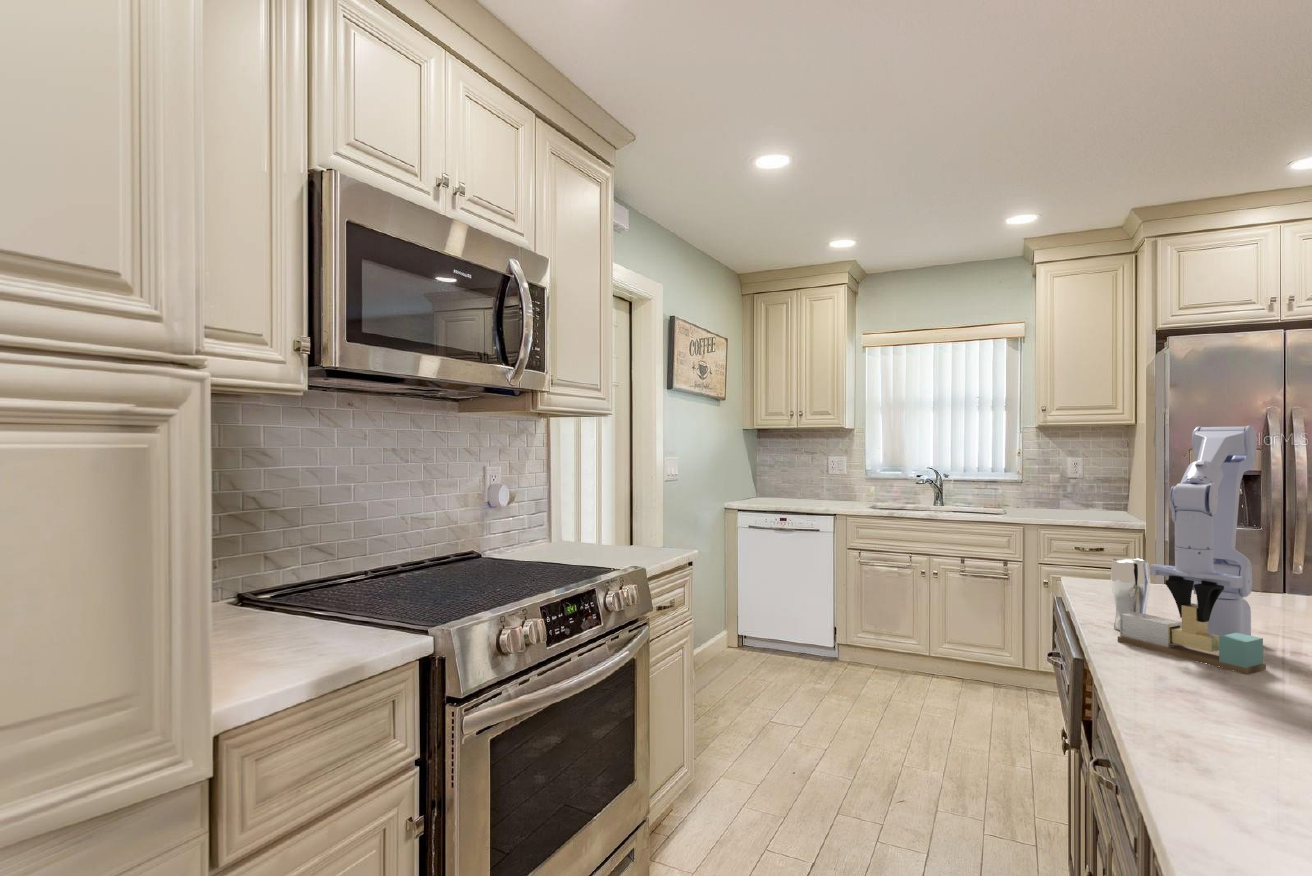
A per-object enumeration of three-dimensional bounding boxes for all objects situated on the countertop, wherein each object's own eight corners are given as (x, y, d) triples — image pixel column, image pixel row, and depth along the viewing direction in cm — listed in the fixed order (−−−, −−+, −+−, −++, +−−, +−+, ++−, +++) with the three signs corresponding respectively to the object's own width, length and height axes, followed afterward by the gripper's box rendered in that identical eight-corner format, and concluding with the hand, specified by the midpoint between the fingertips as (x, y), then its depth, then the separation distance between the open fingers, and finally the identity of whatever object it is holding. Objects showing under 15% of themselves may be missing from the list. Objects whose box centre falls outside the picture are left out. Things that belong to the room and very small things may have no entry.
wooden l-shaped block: (1145, 632, 139) (1145, 594, 139) (1221, 649, 127) (1220, 608, 127) (1134, 634, 138) (1134, 596, 138) (1210, 652, 126) (1210, 610, 126)
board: (1135, 637, 142) (1135, 632, 142) (1265, 669, 122) (1265, 663, 122) (1117, 641, 140) (1117, 636, 140) (1247, 674, 120) (1247, 668, 120)
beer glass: (1157, 635, 144) (1156, 563, 144) (1120, 633, 145) (1119, 562, 145) (1140, 626, 151) (1140, 558, 151) (1105, 625, 152) (1105, 557, 152)
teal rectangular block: (1236, 657, 126) (1236, 632, 126) (1263, 663, 122) (1262, 638, 122) (1219, 661, 124) (1218, 636, 124) (1245, 668, 120) (1245, 642, 120)
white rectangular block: (1133, 633, 142) (1133, 611, 142) (1181, 645, 134) (1181, 621, 134) (1120, 636, 140) (1119, 613, 140) (1168, 648, 132) (1168, 624, 132)
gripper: (1140, 543, 135) (1140, 613, 135) (1226, 554, 122) (1227, 631, 122) (1162, 541, 138) (1162, 609, 138) (1248, 551, 125) (1249, 626, 124)
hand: (1194, 619), depth 130 cm, fingers closed on wooden l-shaped block, 2 cm apart
